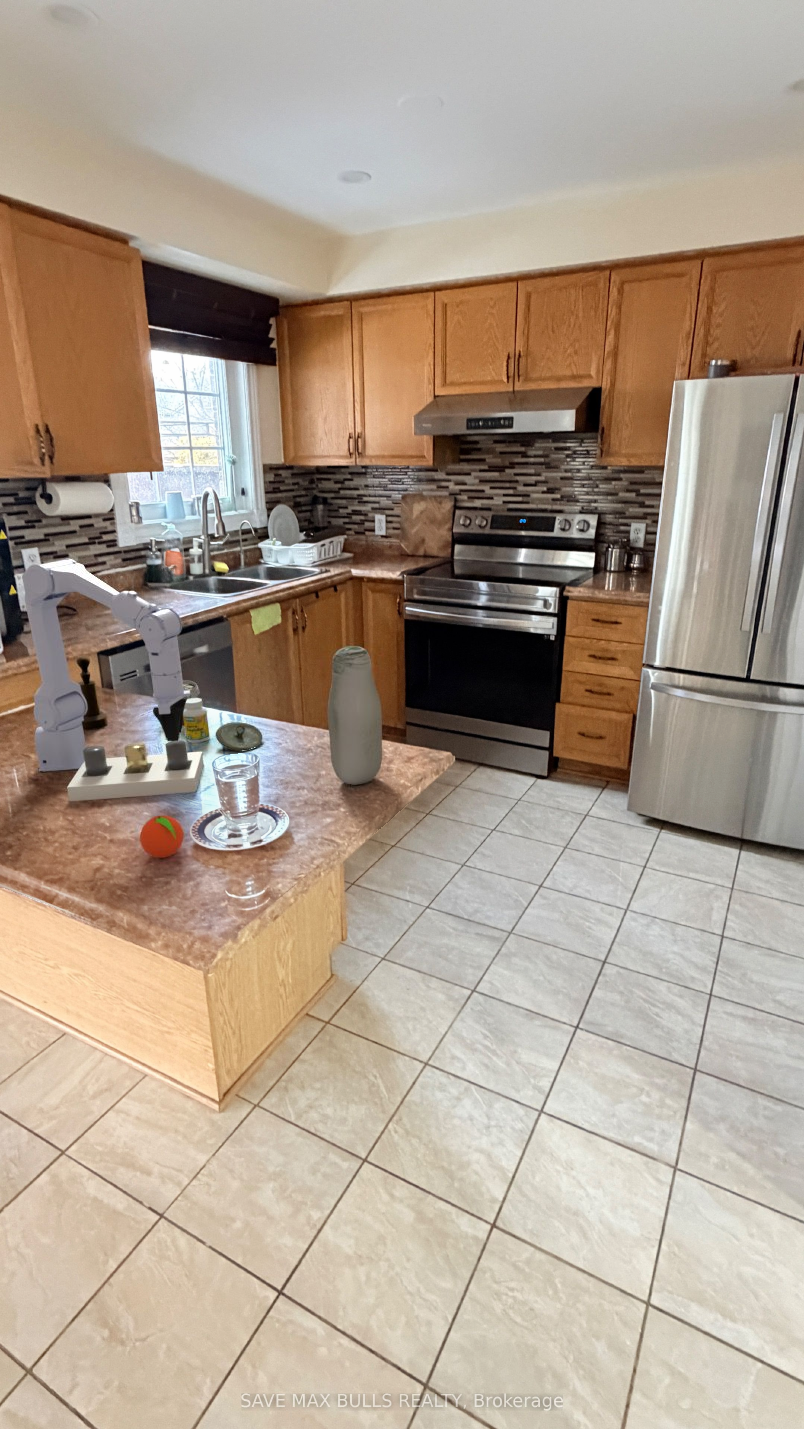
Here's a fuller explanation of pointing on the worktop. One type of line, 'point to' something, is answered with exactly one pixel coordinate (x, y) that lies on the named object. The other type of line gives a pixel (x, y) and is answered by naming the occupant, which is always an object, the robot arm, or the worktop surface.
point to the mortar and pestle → (90, 697)
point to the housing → (137, 779)
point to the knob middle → (136, 758)
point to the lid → (239, 736)
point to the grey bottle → (354, 717)
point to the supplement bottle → (195, 721)
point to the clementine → (161, 836)
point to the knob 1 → (95, 760)
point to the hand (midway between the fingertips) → (174, 736)
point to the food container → (193, 690)
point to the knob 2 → (177, 755)
